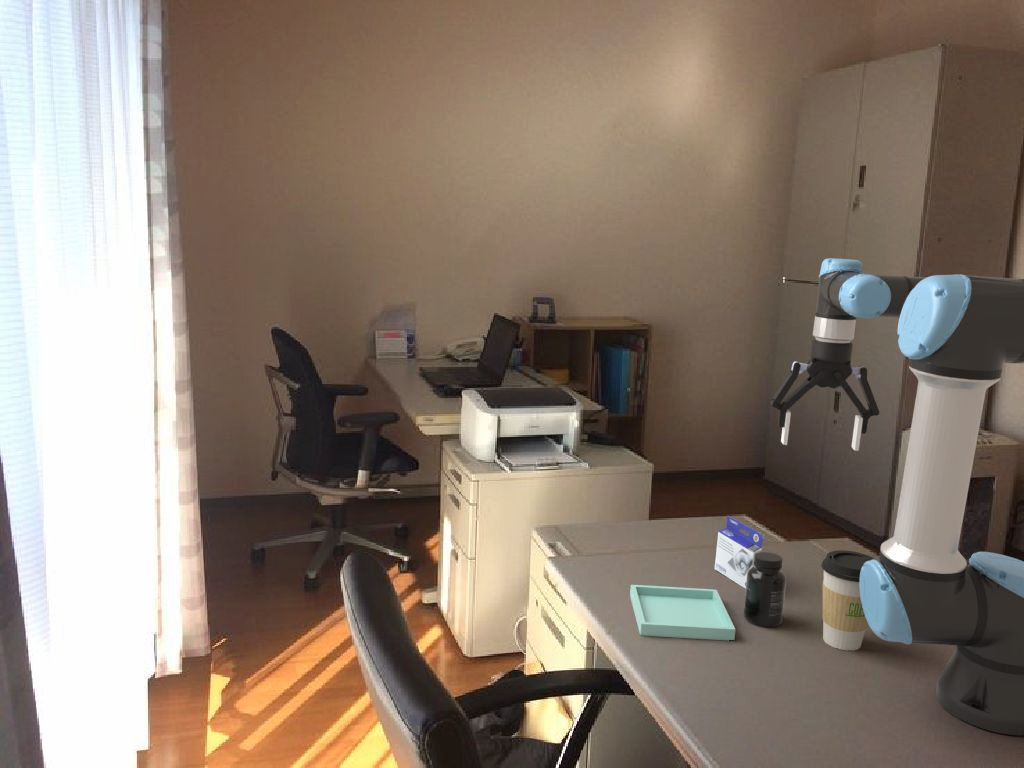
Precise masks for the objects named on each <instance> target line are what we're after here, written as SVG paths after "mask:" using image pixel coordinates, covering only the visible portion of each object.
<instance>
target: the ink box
mask: <svg viewBox="0 0 1024 768" xmlns="http://www.w3.org/2000/svg"><path fill="white" fill-rule="evenodd" d="M741 530H743V531H744V530H745V532H746V533H748V534H745V533H744V532H742V531H741ZM765 537H766V535H765V534H763V533H761V532H759V531H758V530H755V529H753V528H751V526H748V525H746V524H744V523H742V522H741V521H739V520H738V519H736V518H733V517H731V516H729V515H727V516H726V526H725V527H724V528H722V529H720V530H718V532H717V540H716V541H717V543H716V553H715V560H714V562H715V563H714V567H713V568H714V570H715V571H717V572H719V573H720V574H722V575H723V576H725V577H726V578H727V579H729V580H731V581H733V582H734V583H736V584H737V585H739V586H740V587H741V588H744V589H745V590H746V580H747V573H748V571H749V569H751V568H752V567H754V558H755V554H756V553H759V552H763V546H764V541H765Z"/></svg>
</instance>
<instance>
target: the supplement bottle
mask: <svg viewBox="0 0 1024 768" xmlns="http://www.w3.org/2000/svg"><path fill="white" fill-rule="evenodd" d="M782 569H783V557H782V556H781V555H779V554H778V553H774V552H769V551H762V552H759V553H756V554H755V558H754V567H752V568H751V569H749V571H748V573H747V580H746V589H745V592H744V593H745V594H744V601H743V604H744V605H743V617H744V619H745V620H746V621H747V622H748V623H750V624H752V625H755V626H759V627H762V628H763V627H766V628H772V627H776V626H779V625H780V624H781V623H782V622H783V619H784V618H783V616H784V610H785V609H784V608H785V597H786V587H787V576H786V574H785V573H784V571H782Z"/></svg>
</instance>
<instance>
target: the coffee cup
mask: <svg viewBox="0 0 1024 768" xmlns="http://www.w3.org/2000/svg"><path fill="white" fill-rule="evenodd" d="M873 559H874V560H877V559H876V558H874V557H873V556H870V555H868V554H865V553H860V552H857V551H852V550H842V549H841V550H840V549H839V550H832V551H830V552H828V553H827V555H826V556H825V558H824V559H823V560H822V561H821V564H820V565H821V568H822V570H823V580H822V617H821V618H822V620H823V623H822V627H823V628H822V629H823V630H822V632H823V633H822V636H823V637H822V639H823V641H824V642H825V644H826V645H828V646H830V647H832V648H834V649H837V648H838V649H839V650H841V651H842V650H843V651H848V650H849V651H850V650H852V651H857V650H860V648H861V647H862V644H863V640H864V636H865V632H866V630H867V629H868V626H869V624H868V622H867V620H866V617H865V614H864V611H863V607H862V603H861V597H860V587H859V581H860V572H861V569H862V566H864V563H865V562H867V561H870V560H873Z"/></svg>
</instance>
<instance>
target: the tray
mask: <svg viewBox="0 0 1024 768" xmlns="http://www.w3.org/2000/svg"><path fill="white" fill-rule="evenodd" d="M629 590H630V591H629V598H630V601H631V605H632V609H633V612H634V616H635V620H636V621H635V622H636V624H637V628H638V632H639V635H640V636H643V637H644V636H646V637H661V638H662V637H664V638H682V639H683V638H684V639H696V640H698V639H699V640H715V641H717V640H718V641H729V640H734V641H735V636H736V628H735V626H734V623H733V621H732V618H731V617H730V615H729V612H728V610H727V608H726V607H725V604H724V602H723V600H722V598H721V595H720V594H719V592H718V590H717V589H715V588H714V589H711V588H694V587H677V586H662V585H661V586H659V585H640V584H630V589H629Z"/></svg>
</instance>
